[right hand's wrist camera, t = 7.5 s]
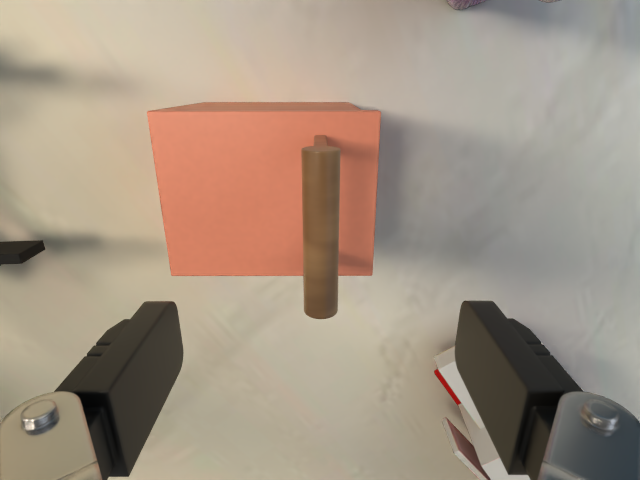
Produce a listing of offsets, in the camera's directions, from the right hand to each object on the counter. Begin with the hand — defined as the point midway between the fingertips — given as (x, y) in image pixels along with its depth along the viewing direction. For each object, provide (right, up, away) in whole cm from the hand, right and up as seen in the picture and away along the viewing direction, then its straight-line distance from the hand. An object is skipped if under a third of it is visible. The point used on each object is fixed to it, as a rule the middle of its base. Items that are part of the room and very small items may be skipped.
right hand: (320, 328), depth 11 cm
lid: (-3, +5, +14) cm, 15 cm away
